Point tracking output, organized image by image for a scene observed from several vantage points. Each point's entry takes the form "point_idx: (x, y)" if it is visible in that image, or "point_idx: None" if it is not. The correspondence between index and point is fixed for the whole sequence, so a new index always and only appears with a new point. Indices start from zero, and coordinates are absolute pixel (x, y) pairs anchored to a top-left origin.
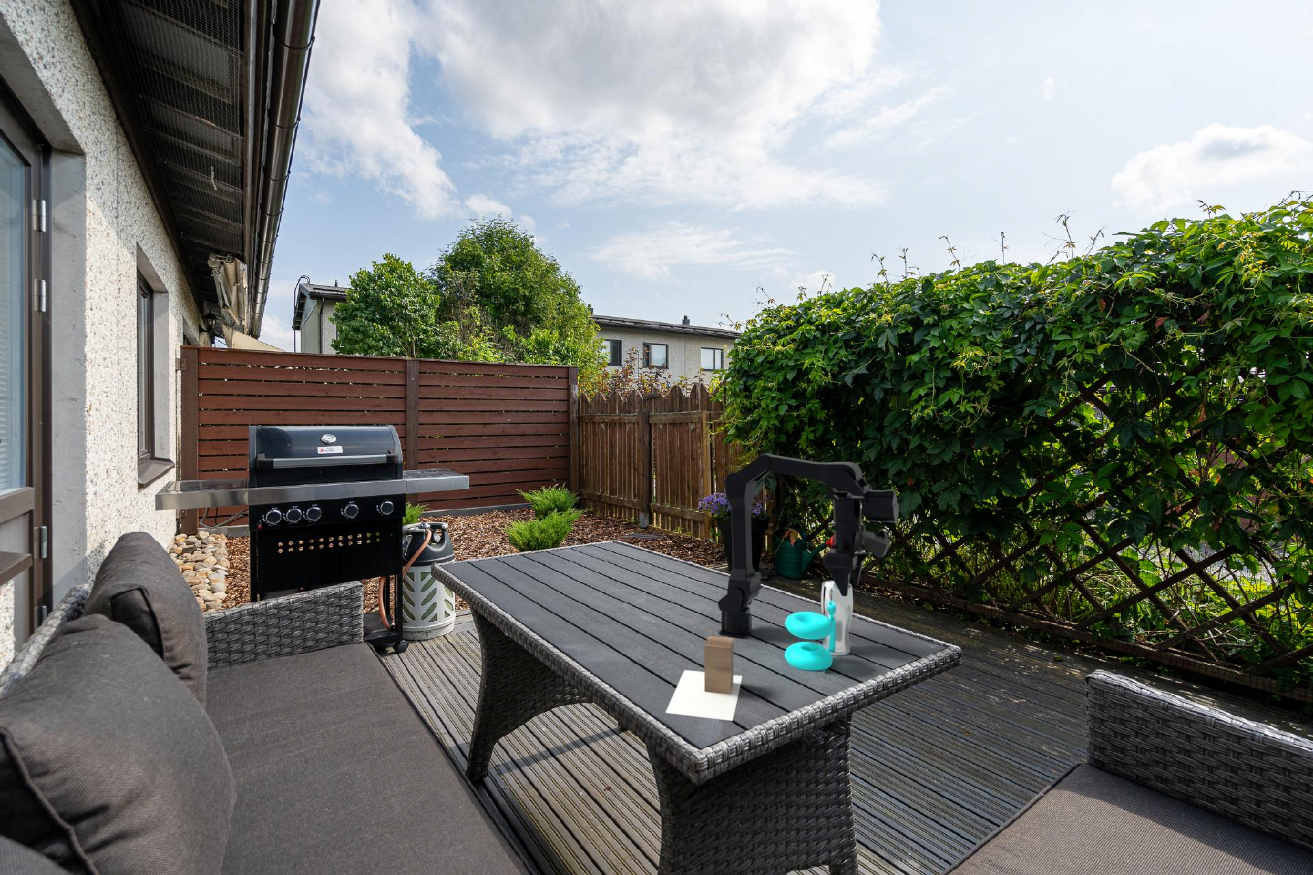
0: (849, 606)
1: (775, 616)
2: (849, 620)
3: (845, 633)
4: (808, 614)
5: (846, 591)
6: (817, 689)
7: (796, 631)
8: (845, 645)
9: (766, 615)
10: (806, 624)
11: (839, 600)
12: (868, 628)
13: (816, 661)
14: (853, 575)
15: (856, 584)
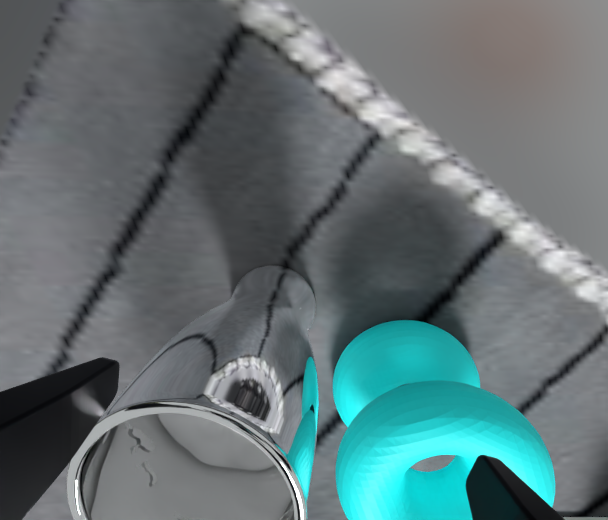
0: (281, 344)
1: None
2: (279, 308)
3: (292, 302)
4: (385, 505)
5: (542, 505)
6: (572, 350)
7: None
8: (295, 287)
9: None
10: None
11: (313, 426)
12: (45, 203)
13: (476, 374)
14: (34, 463)
15: (115, 370)
